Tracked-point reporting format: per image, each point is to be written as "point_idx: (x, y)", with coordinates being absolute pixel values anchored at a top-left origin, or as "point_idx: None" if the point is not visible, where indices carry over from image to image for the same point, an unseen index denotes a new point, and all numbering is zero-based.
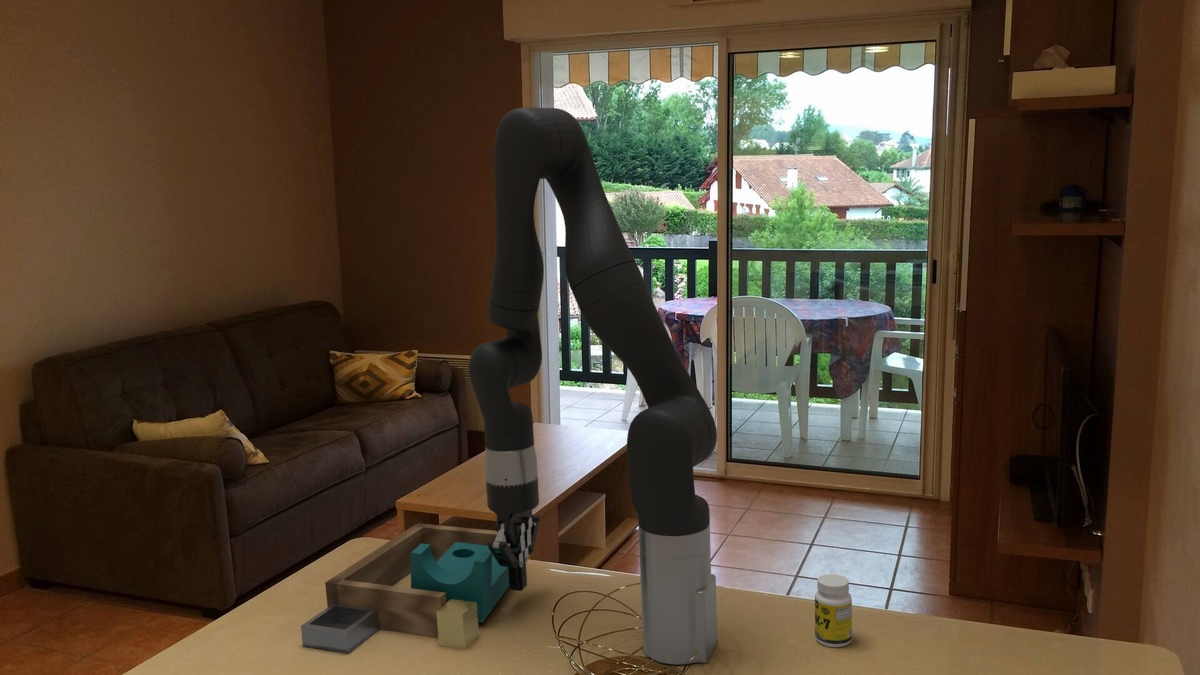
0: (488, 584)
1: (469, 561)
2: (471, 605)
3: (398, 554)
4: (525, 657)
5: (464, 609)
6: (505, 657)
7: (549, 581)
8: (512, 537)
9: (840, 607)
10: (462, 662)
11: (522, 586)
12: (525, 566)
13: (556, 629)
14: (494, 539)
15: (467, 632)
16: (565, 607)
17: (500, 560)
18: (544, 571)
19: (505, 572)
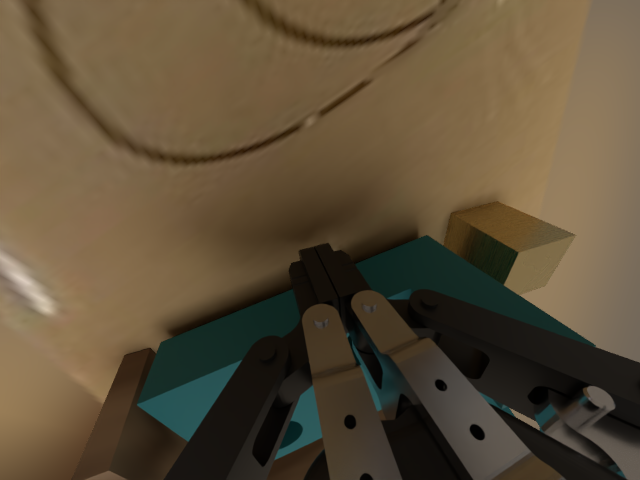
0: (446, 292)
1: (305, 405)
2: (532, 251)
3: (311, 462)
4: (548, 46)
5: (550, 249)
6: (538, 101)
7: (127, 261)
8: (578, 457)
9: None
10: (540, 173)
11: (331, 248)
12: (322, 293)
13: (404, 41)
14: (155, 469)
15: (511, 216)
16: (256, 102)
17: (457, 345)
18: (82, 312)
19: (288, 331)
